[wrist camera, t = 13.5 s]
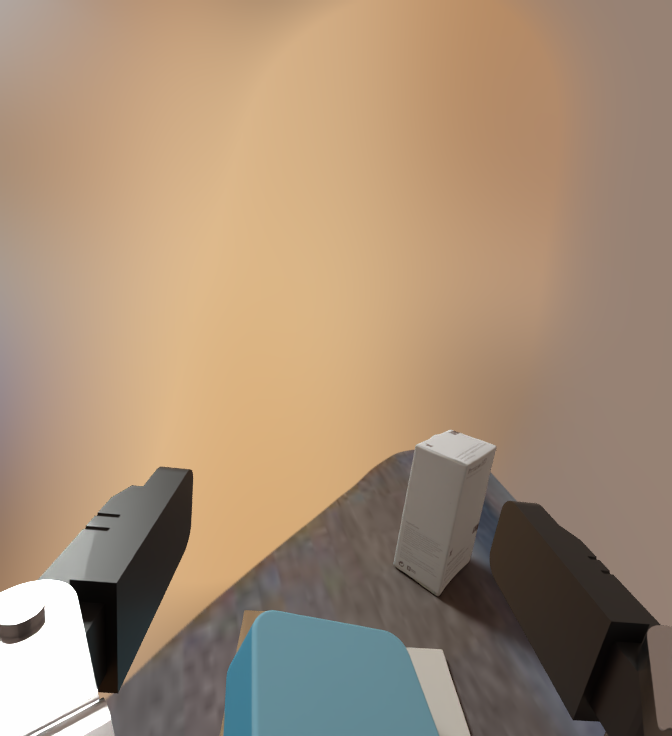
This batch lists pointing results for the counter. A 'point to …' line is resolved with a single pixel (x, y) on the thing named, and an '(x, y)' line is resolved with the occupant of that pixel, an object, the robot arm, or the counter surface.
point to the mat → (439, 691)
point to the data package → (323, 682)
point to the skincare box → (443, 507)
